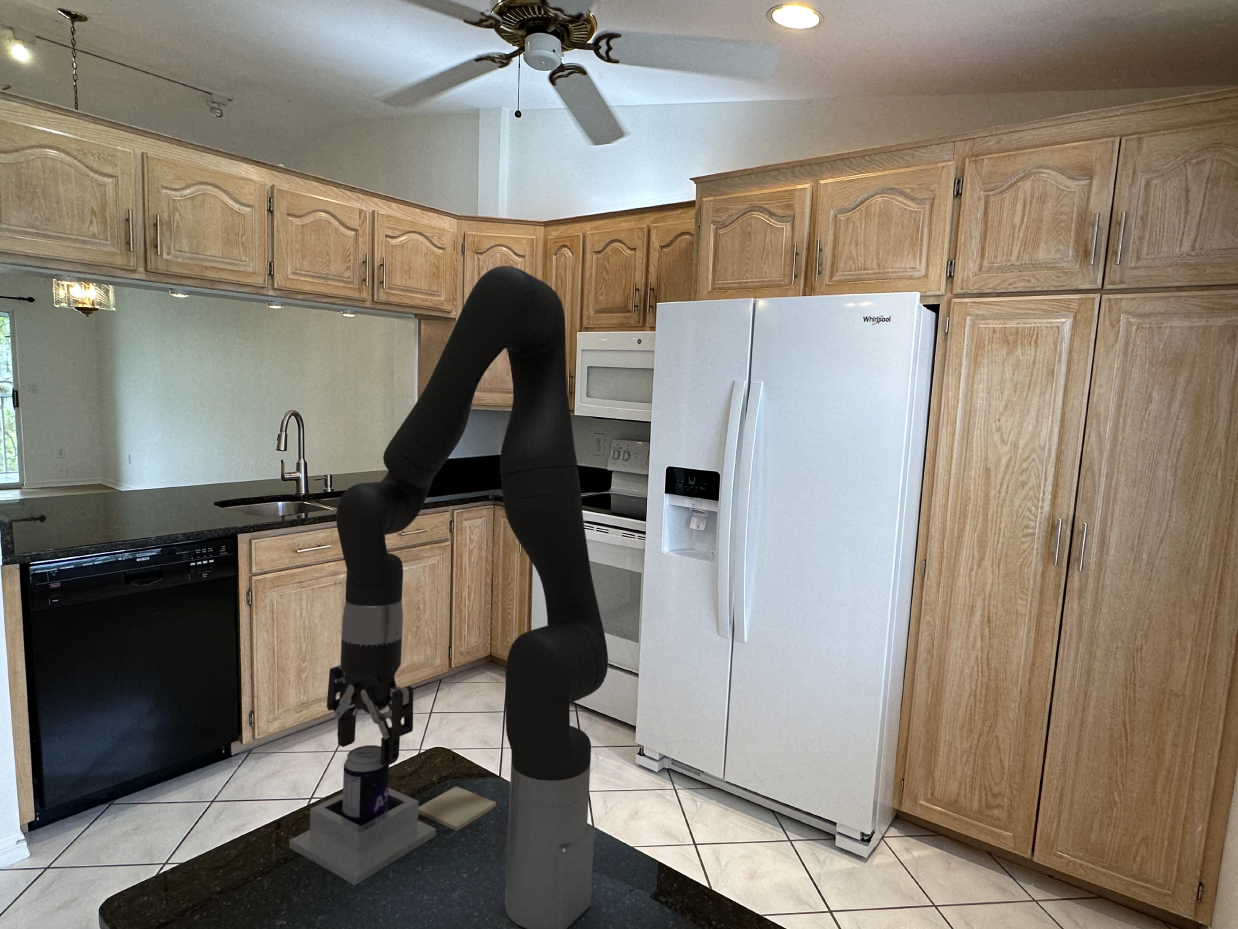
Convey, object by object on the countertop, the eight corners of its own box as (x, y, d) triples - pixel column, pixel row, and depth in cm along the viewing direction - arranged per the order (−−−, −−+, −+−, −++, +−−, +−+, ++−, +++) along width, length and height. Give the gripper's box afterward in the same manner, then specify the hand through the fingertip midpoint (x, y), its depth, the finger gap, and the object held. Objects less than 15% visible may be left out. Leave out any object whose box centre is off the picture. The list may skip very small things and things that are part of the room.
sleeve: (435, 836, 96) (436, 800, 96) (355, 885, 85) (356, 845, 85) (371, 805, 103) (372, 771, 103) (289, 847, 92) (290, 810, 92)
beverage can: (377, 855, 91) (380, 764, 91) (333, 853, 91) (336, 762, 91) (392, 831, 97) (395, 745, 96) (351, 828, 97) (354, 742, 96)
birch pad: (495, 806, 104) (496, 802, 104) (456, 831, 98) (457, 827, 98) (456, 790, 109) (456, 786, 109) (416, 812, 102) (416, 808, 102)
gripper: (432, 638, 92) (426, 759, 93) (360, 617, 100) (355, 729, 101) (385, 652, 86) (379, 782, 87) (313, 628, 94) (308, 748, 95)
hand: (366, 753), depth 94 cm, fingers open, 8 cm apart
